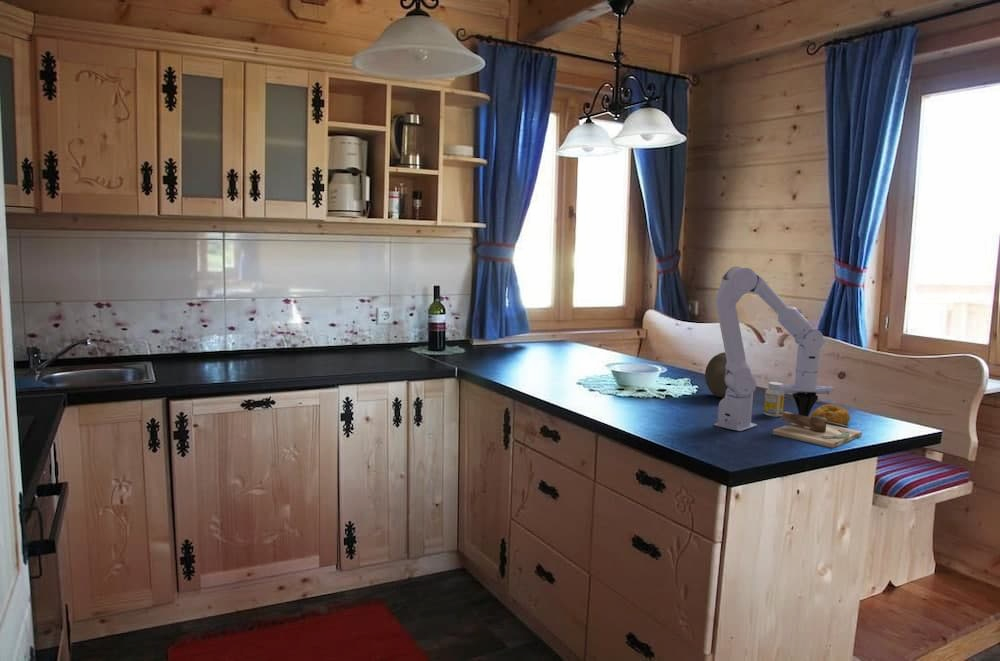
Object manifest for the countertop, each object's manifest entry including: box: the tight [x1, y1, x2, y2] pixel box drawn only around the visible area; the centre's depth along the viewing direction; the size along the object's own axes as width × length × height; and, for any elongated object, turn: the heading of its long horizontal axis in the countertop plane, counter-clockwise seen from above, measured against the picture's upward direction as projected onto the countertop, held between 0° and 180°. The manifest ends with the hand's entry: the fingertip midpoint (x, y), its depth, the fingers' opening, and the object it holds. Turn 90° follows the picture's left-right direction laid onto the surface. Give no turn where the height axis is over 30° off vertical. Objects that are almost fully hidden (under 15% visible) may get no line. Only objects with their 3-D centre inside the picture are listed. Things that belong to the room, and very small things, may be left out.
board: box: [772, 423, 863, 449], centre depth 192 cm, size 18×16×1 cm
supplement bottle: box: [763, 381, 785, 418], centre depth 213 cm, size 5×5×10 cm
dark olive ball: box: [704, 351, 728, 399], centre depth 234 cm, size 14×14×15 cm
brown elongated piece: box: [781, 411, 849, 432], centre depth 193 cm, size 18×4×3 cm, turn 38°
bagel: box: [809, 404, 851, 426], centre depth 207 cm, size 10×11×5 cm
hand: (803, 419), depth 199 cm, fingers closed
